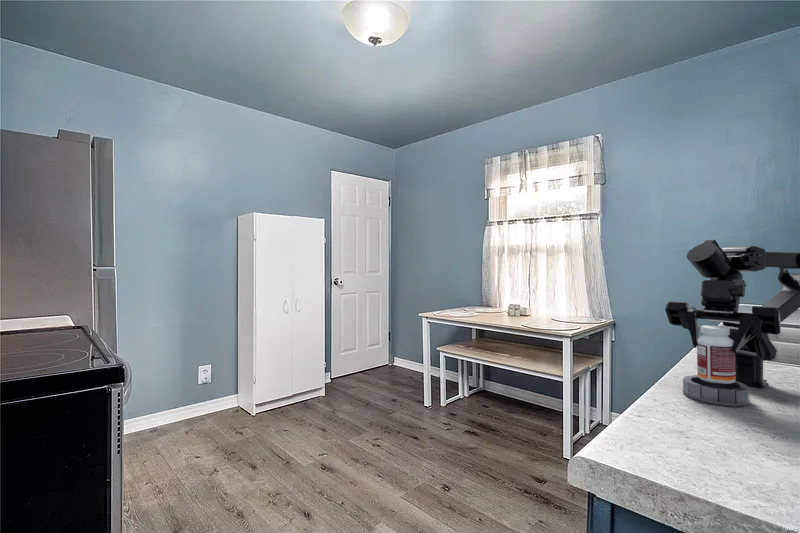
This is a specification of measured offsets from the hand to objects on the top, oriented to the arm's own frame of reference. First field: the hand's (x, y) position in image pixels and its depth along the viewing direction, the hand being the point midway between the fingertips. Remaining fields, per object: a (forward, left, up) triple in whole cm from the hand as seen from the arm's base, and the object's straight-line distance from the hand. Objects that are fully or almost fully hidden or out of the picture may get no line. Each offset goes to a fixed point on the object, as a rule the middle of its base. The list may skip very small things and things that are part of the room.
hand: (714, 349), depth 81 cm
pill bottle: (-1, 0, -7) cm, 7 cm away
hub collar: (-1, 0, -10) cm, 10 cm away
